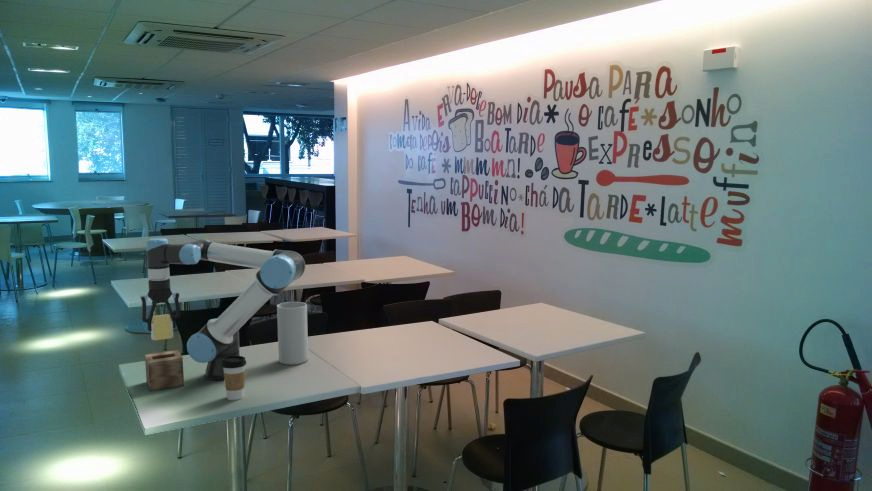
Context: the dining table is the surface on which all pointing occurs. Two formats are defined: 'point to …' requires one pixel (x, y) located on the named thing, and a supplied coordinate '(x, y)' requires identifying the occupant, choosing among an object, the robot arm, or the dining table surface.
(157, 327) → the rectangular block
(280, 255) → the robot arm
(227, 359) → the coffee cup
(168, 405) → the dining table surface
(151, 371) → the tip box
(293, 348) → the cylinder vase
